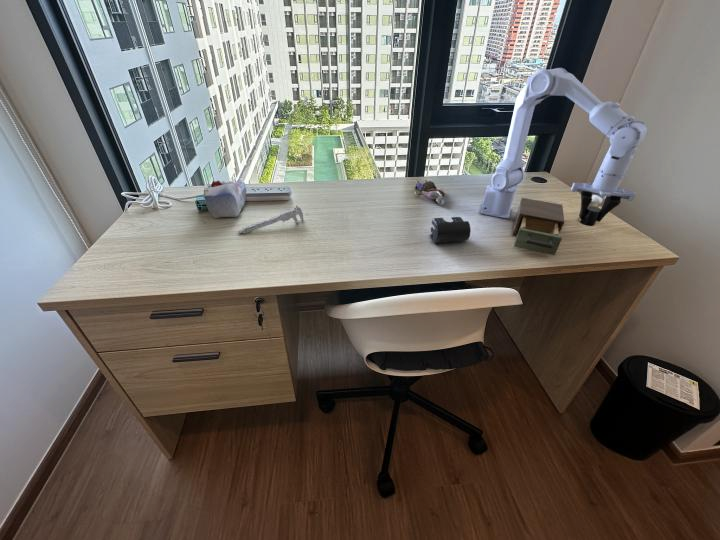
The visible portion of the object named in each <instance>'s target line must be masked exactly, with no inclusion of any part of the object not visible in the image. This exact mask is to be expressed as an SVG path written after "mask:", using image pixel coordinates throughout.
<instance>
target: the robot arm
mask: <svg viewBox="0 0 720 540" xmlns="http://www.w3.org/2000/svg"><path fill="white" fill-rule="evenodd" d="M551 96H558V97H559V96H560V97H566V98H567V99H569V100H570V101H572V102H573V103H574V104H575V105H577V106H578V107H580V108H581V109H582V110H584V111H585V112H586V113H588V115H589V116H588V117H589V119H588V120H589V123H590V124H592V125H593V126H594V127H595V128H596V129H598V131H599V132H601V134H603V135H604V136H605V137H607V138H608V139H609V144H610V146H609V148H608V151H607V152H606V154H605V156H604V158H603V160H602V163H601V165H600V167H599V169H598V171H597V174H596V176H595V178H594V180H593V182H592V183H588V182H587V183H583V182H572V185H571V188H570V191H571V192H572V193H577V192H578V193H580V203H581V204H580V210H579V214H578V217H579V218H580V219H583V217H584V215H585V212H586V210H587V208H588V206H589V204H590V202H591V201H592V195H597V196H602V197H605V196H606V197H605V198H604V200H603V201H604V202H603V203H602V207H601V208H600V209H601V210H602V211H601V213H600V215H599V217H598V219H597V221H596V223H600V222H601V221H602V220H603V219H604V218H605V216H607V215H608V213H609V212H611V211H612V210H613V209H615V208H617V207H618V206H619V205H620V204H621V200H627V201H628V202H629V201H630V202H633V201H634V199H635V197H636V196H637V193H636V192H635V191H633V190H629V189H628V190H627V189H624V188H621V187H619V186H620V184H621V182H622V180H623V179H624V176H625V174H626V172H627V171H628V168H629V167H630V164H631V163H632V161H633V159H634V155H635V153H636V152H637V149H638V147H639V146H638V145H640V144H642V143H643V142H644V141H645V139H646V138H647V136H648V133H649V129H648V127H647V125H646V124H645V123H644V121H641V120H636V117H635V116H634V115H631V116H630V115H628V113H626V112H625V111H623V110H622V108H620V107H621V103H619V102H618V101H617V102H613V101H604V102H603V101H601V100H600V99H599V98H598V97H597V96H596V95H595V94H594V93H593V92H592V91H590V90H589V88H587V87H586V86H585V85H584V84H583V83H582V82H581V81H580V80H579V79H578V78H577V77H576V76H575V75H574V74H573V73H570V72H568V71H567V70H566V69H565V68H563V67H556V68H552V69H545V68H544V69H540V70H537V71H536V72H534V73H533V74H532V75H530V76H528V78H527V81H526V84H525V85H523V88H522V89H521V90H520V92H519V93H518V95H517V96H516V100H515V103H514V108H513V113H512V117H511V122H510V126H509V130H508V134H507V135H508V136H507V139H506V144H505V149H504V153H503V158H502V160H501V161H500V162H499V163H498V165H497V166H496V169H495V172H494V173H493V174H492V176H491V180H490V182H491V183H490V184H491V185H487V186H486V190H485V192H484V193H485V194H484V197H483V200H482V201H481V205H480V206H481V209H480V214H481V215H487V216H491V217H497V218H503V219H506V220H507V219H510V216H511V210H512V209H511V207H512V204H513V201H514V197H515V194H516V191H517V188H518V185H519V184H520V183H521V182H522V181H524V180H523V179H524V176H525V174H524V162H523V160H522V159H523V155H524V151H525V147H526V143H527V139H528V135H529V131H530V127H531V124H532V123H531V122H532V118H533V115H534V114H533V113H534V111H535V107H536V106H537V105H538V104H539V103H541V102H542V101H544V100H545V99H546V98H548V97H551ZM579 218H578V219H579Z"/></svg>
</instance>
